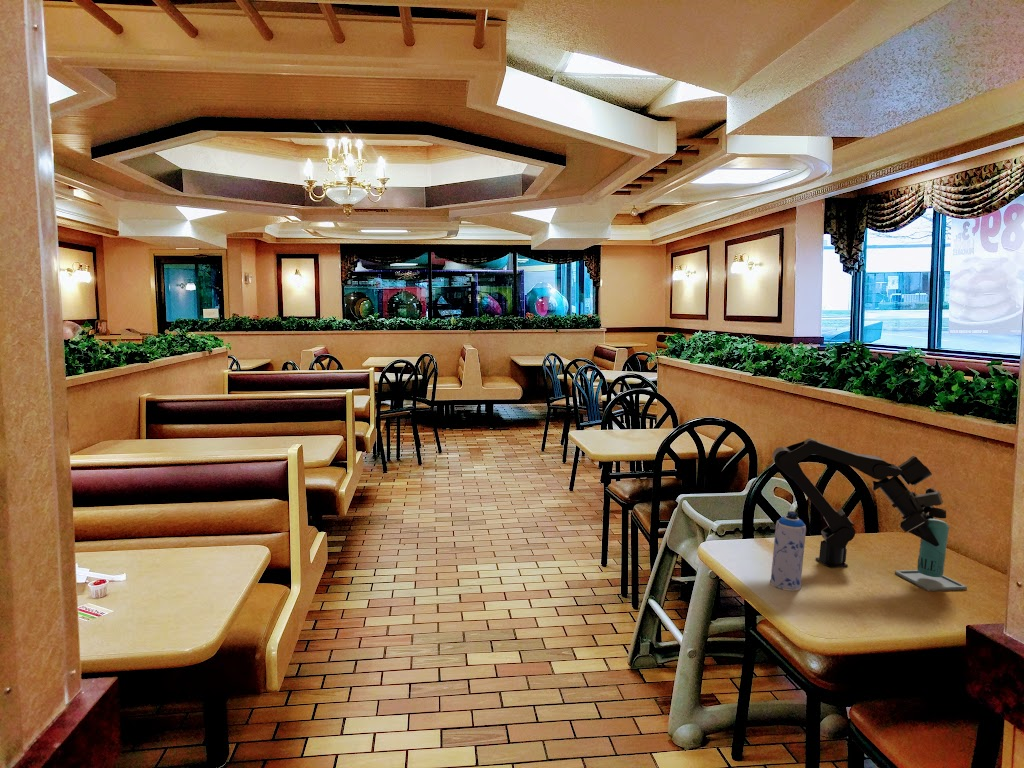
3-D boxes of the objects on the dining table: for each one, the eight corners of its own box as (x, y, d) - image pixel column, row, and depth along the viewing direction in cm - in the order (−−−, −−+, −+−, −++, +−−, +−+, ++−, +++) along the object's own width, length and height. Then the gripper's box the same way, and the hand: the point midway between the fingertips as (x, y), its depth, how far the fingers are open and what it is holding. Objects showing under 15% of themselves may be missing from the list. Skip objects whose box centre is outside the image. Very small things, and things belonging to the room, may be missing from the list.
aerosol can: (787, 578, 188) (793, 507, 186) (807, 589, 181) (815, 515, 179) (763, 580, 186) (770, 508, 183) (783, 591, 178) (790, 517, 176)
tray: (928, 591, 184) (928, 587, 183) (894, 573, 195) (895, 570, 195) (966, 589, 186) (967, 586, 186) (931, 572, 198) (931, 569, 198)
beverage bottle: (940, 576, 192) (950, 507, 190) (944, 584, 186) (954, 513, 184) (914, 571, 195) (923, 503, 193) (917, 579, 189) (926, 509, 187)
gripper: (919, 485, 183) (963, 535, 177) (930, 474, 197) (970, 520, 192) (883, 507, 189) (924, 556, 183) (896, 495, 203) (934, 540, 197)
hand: (939, 542), depth 189 cm, fingers closed on beverage bottle, 6 cm apart
